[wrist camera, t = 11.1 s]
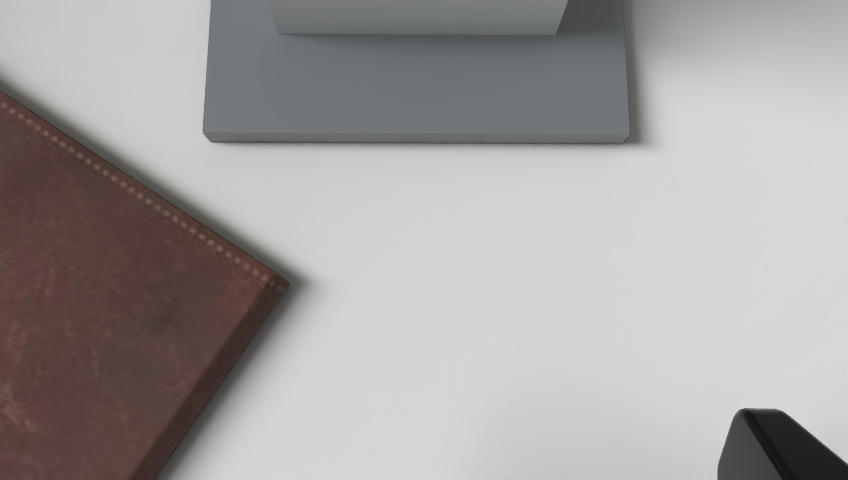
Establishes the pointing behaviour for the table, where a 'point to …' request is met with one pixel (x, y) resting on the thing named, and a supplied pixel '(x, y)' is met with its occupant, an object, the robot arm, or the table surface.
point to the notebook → (107, 311)
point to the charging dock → (417, 71)
